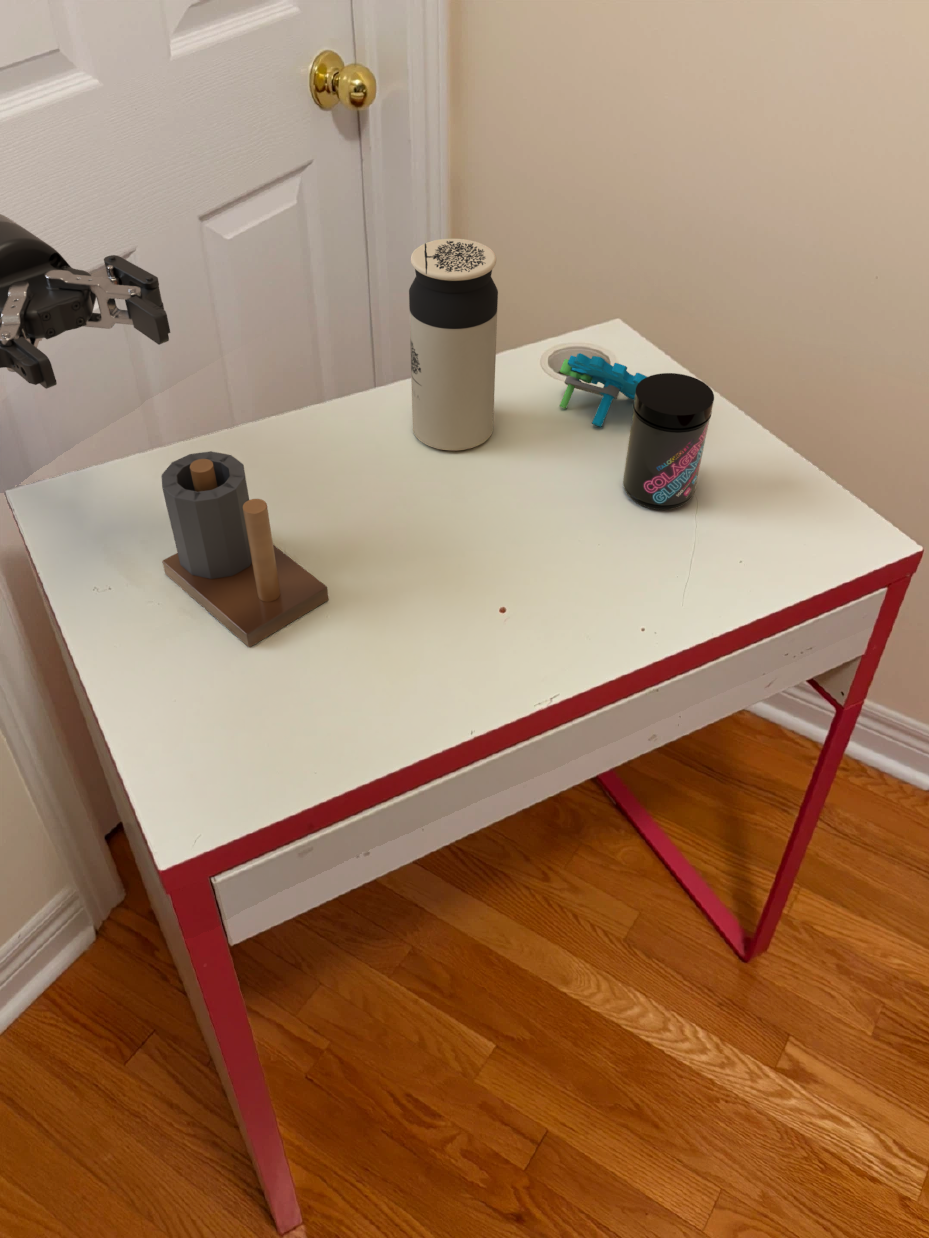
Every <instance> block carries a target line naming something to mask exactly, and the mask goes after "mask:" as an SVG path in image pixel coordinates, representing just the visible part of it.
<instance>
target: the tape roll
mask: <svg viewBox="0 0 929 1238" xmlns="http://www.w3.org/2000/svg"><path fill="white" fill-rule="evenodd" d="M198 459H208V460H210V461H212V462H213V465H214V471H215V476H216V481H217V486H218V487H217V488H215V489H213V490H207V491H200V492H196V491H195V490H194V485H193V480H192V475H191V471H190V465H191V463H192V462H194V461H195V460H198ZM246 477H247V476H246V471H245V466H244V463H242V462H241V461H240V460H238V459H237V458H236V457H235V456H233V455H232V454H227V453H222V452H217V451H212V450H211V451H204V452H203V451H202V452H195V453H189V454H186V455H184V456H183V457H180V458H178V459H176V460H174V461H172V462H171V463H170V464H169V465H168V467H167V468H166V469H165V470H164V471H163V473H162V474H161V477H160V478H161V489H162V493H163V497H164V501H165V506H166V511H167V515H168V519H169V522H170V527H171V531H172V535H173V539H174V543H175V548H176V553H178V557H179V561H180V565H181V566H182V567H184V568H185V569H186V570H187V571H188V572H189V573H190V574H192V575H195V576H199V577H204V578H209V579H215V578H222V577H228V576H233V575H235V574H237V573H238V572H240V571H242V570H244V569H246V568H248V567H249V566H250V565H251V563H252V559H251V553H250V547H249V542H248V536H247V530H246V524H245V518H244V513H243V505H244V503H245V502H247V501H248V500H250V497H249V495H250V494H249V490H248V484H247V478H246Z"/></svg>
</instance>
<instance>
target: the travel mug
mask: <svg viewBox="0 0 929 1238" xmlns="http://www.w3.org/2000/svg"><path fill="white" fill-rule="evenodd" d="M410 256H411V257H410V263H411V265H412V267H413V268H414V273H415V277H414V279H413V281H412V283H411V284H410V286H409V289H408V307H409V308H408V309H409V345H410V377H411V379H410V382H411V417H412V418H411V419H412V420H411V421H412V432H413V434H414V436H415V438H417V440H419V441H420V442H421V443H423V444H424V445H426V446H427V447H428V446H429V447H431V448H434V449H437V450H443V451H464V450H470V449H472V448H476V447H479V446H480V445H482V444H483V443H486V441H488V440H489V438H491V436H492V434H493V432H494V415H495V388H496V387H495V386H496V363H497V362H496V361H497V359H496V358H497V334H498V333H497V331H498V305H499V304H498V303H499V290H498V287H497V286H496V283H495V281H494V279H493V277H492V273H493V269H494V268H495V267H496V264H497V256H496V253H495V252H494V251H493V249H491V248H490V247H489V246H488V245H485V244H483V243H482V242H478V241H475V240H471V239H463V238H440V239H435V240H431V241H428V242H425V243H423V244H421V245H419V246H418V247H416V248H415V249H414V250H413V252H412V253H411V255H410Z"/></svg>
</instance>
